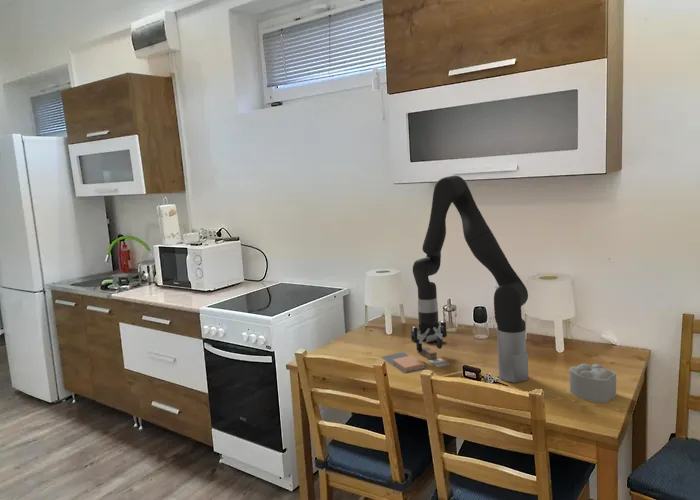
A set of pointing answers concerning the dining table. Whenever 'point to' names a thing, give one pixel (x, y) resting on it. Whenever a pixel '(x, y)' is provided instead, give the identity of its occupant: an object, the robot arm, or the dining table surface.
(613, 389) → the lumpy-topped squat cylinder
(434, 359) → the turner
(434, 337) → the ceramic mug
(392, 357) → the mat
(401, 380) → the dining table surface
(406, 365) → the tile
